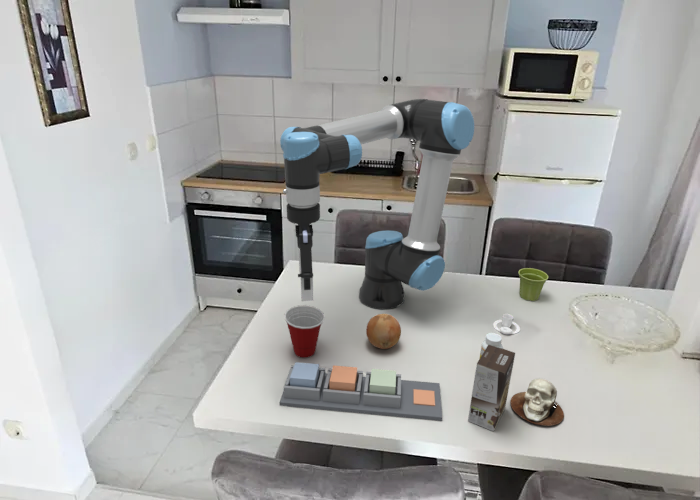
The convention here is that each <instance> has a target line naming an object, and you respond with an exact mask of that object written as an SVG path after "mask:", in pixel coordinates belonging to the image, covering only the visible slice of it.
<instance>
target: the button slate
mask: <svg viewBox="0 0 700 500" xmlns="http://www.w3.org/2000/svg"><path fill="white" fill-rule="evenodd" d="M319 368H320V363H309V362H298V361H296V362H294V367H293V370H292V373H291V376H290V386H296V387H307V388H316V384H317V381H318V377H319Z"/></svg>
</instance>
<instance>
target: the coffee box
mask: <svg viewBox="0 0 700 500" xmlns="http://www.w3.org/2000/svg"><path fill="white" fill-rule="evenodd" d="M515 357H516V352H515V351H514V352H513V351H511V350H508V349H504V348H503V349H502V348H498V347H494V346H491V345H488V346H487V348H486V349H485V351H484V353H483V354H482V356H481V358H480V357H479V358H480V359H479V358H478V359H479V360H478V361H477V362H476V366H475V373H474V377H473V378H474V379H473V385H472V393H471V399H470V405H469V411H468V412H469V413H468V418H467V421H468V422H469V423H472V424H475V425H478V426H480V427H482V428H484V429H487V430H489V431H491V432H494V431H495V430H496V428H497V426H498V424H499V421H500V420H501V418H502V416H503V413H504V412H505V410H506V405H507V399H508V395H509V390H510V384H511V377H512V373H513V368H514V367H513V366H514V363H515Z"/></svg>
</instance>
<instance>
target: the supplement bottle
mask: <svg viewBox="0 0 700 500" xmlns="http://www.w3.org/2000/svg"><path fill="white" fill-rule="evenodd" d="M484 339H485V340H483V341H482V342H481V347H480V353H479V358H478V359H480V358H481V356H482V354H483V353H484V351H485V349H486V348H487V346H488V345H491V346H494V347H498V348H502V349H504V347H503V344H502V342H503V341H502V340H503V337H502V336H501V335H500V334H498V333H495V332H489V333H487V334H485V338H484Z"/></svg>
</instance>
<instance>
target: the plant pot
mask: <svg viewBox="0 0 700 500" xmlns="http://www.w3.org/2000/svg"><path fill="white" fill-rule="evenodd" d="M518 276H519V297H520V298H521V299H523V300H525V301H531V302H535V301H538V300H539V297H540V295H541V293H542V290H543V287H544V286H545V283H546V282H547V281H548V279H549V275H548V274H547V273H546V272H545V271H543V270H541V269H537V268H533V267H532V268H531V267H529V268H528V267H525V268H521V269H519V270H518Z"/></svg>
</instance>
